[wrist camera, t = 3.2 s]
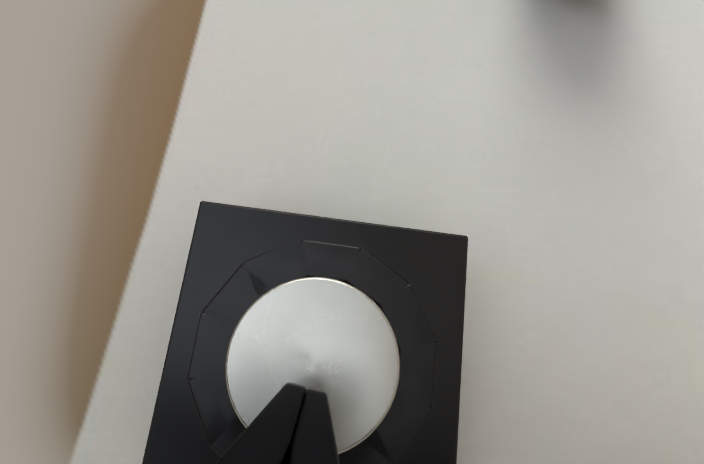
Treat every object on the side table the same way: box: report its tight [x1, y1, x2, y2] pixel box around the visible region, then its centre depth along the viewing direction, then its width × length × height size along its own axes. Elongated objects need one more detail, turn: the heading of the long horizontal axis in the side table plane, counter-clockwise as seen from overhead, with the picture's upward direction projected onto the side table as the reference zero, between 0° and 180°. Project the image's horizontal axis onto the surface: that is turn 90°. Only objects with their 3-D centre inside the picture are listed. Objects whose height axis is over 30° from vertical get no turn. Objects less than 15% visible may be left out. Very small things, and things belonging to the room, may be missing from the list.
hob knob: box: [225, 277, 400, 454], centre depth 12 cm, size 4×4×2 cm
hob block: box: [142, 201, 468, 464], centre depth 16 cm, size 10×10×6 cm
